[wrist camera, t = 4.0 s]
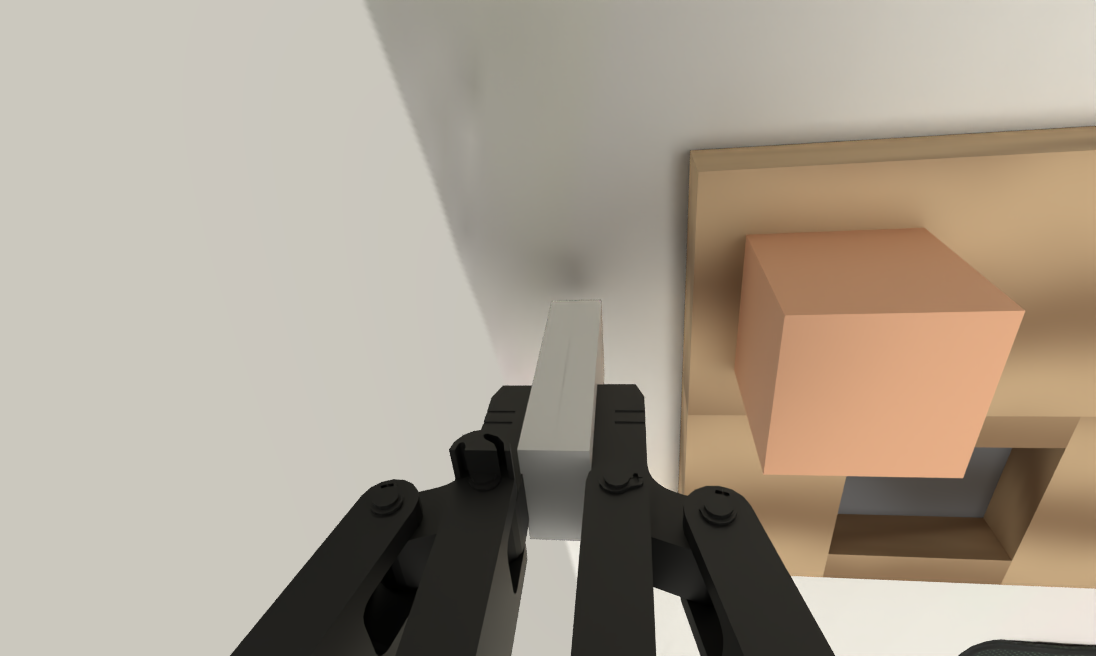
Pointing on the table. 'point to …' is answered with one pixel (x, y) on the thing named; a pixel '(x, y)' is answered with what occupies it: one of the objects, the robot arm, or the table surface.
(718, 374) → the board
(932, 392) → the block
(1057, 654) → the mouse mat
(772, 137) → the table surface
